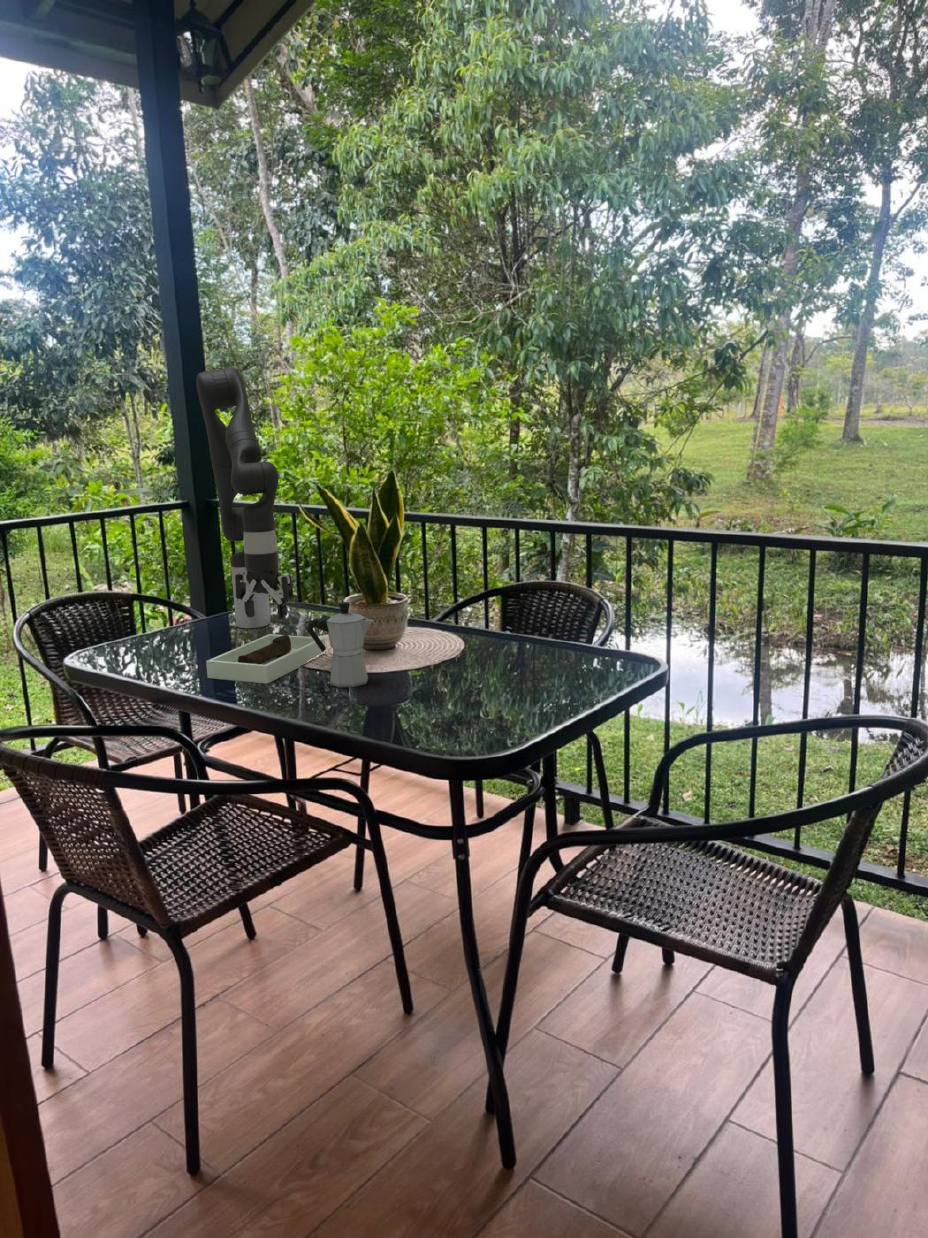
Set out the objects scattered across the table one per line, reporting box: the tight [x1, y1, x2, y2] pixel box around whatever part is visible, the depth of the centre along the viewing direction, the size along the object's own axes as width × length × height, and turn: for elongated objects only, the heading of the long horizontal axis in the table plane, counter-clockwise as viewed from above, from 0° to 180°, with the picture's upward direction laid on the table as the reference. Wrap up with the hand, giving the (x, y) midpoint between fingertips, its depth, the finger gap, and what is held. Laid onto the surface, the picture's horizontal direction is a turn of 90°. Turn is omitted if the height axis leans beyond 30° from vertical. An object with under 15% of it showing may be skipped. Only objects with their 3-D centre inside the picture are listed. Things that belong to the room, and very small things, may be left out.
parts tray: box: [205, 633, 327, 684], centre depth 221 cm, size 26×16×4 cm, turn 159°
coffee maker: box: [306, 601, 375, 688], centre depth 204 cm, size 15×9×18 cm, turn 89°
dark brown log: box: [238, 634, 291, 664], centre depth 220 cm, size 19×4×5 cm, turn 154°
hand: (266, 617), depth 219 cm, fingers open, 8 cm apart
